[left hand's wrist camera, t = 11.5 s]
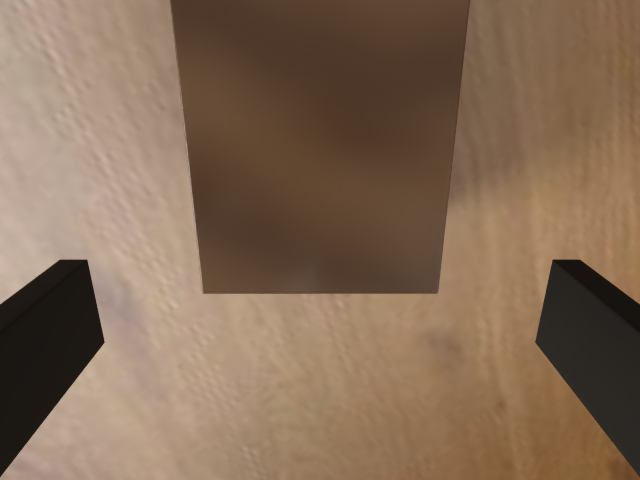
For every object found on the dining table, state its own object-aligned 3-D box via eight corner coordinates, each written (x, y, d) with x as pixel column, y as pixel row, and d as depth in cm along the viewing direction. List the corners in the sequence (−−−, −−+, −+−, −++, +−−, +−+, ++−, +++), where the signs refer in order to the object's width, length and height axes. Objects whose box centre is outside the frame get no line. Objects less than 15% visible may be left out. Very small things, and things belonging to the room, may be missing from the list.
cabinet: (209, -194, 21) (127, -384, 12) (430, -194, 21) (512, -384, 12) (238, 222, 29) (202, 294, 20) (401, 222, 29) (438, 294, 20)
